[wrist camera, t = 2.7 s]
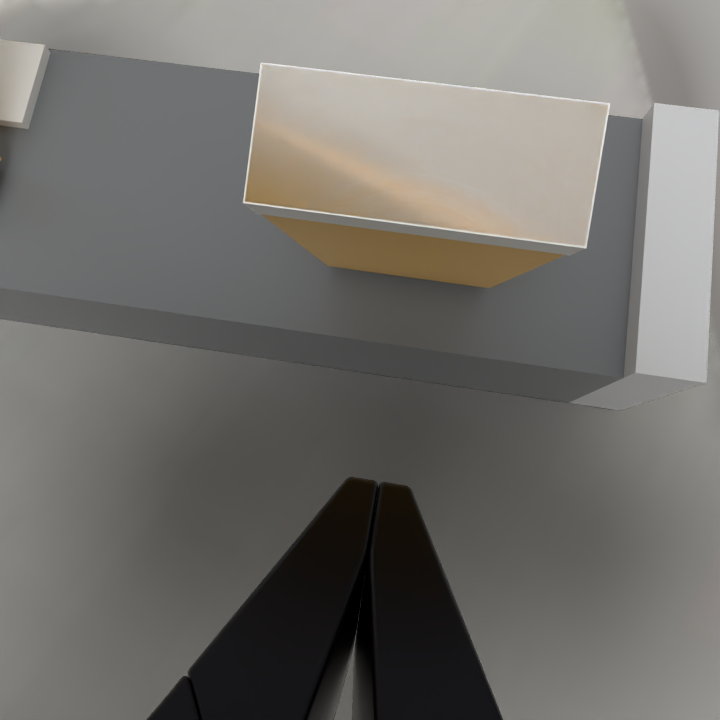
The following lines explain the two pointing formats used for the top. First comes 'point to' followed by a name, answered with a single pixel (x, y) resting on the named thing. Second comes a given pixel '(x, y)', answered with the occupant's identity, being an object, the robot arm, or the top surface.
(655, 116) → the power strip
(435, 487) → the top surface
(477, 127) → the outlet rocker
